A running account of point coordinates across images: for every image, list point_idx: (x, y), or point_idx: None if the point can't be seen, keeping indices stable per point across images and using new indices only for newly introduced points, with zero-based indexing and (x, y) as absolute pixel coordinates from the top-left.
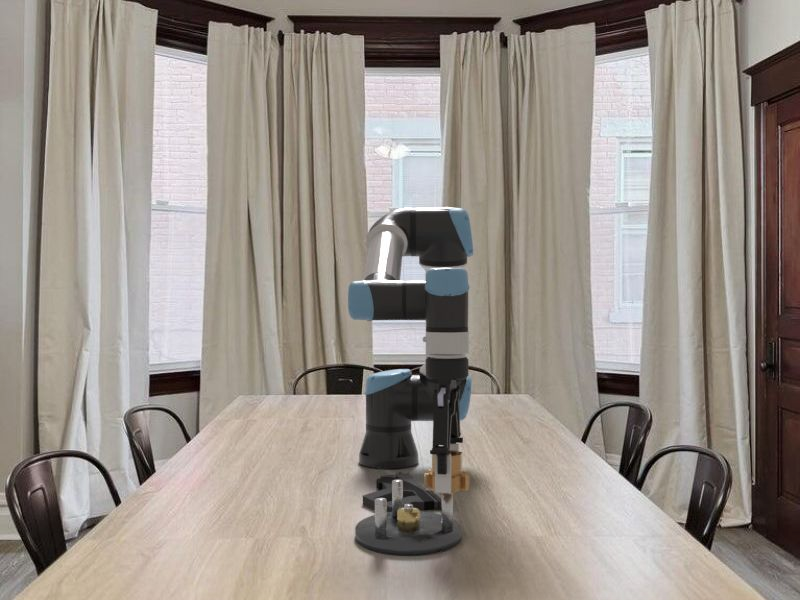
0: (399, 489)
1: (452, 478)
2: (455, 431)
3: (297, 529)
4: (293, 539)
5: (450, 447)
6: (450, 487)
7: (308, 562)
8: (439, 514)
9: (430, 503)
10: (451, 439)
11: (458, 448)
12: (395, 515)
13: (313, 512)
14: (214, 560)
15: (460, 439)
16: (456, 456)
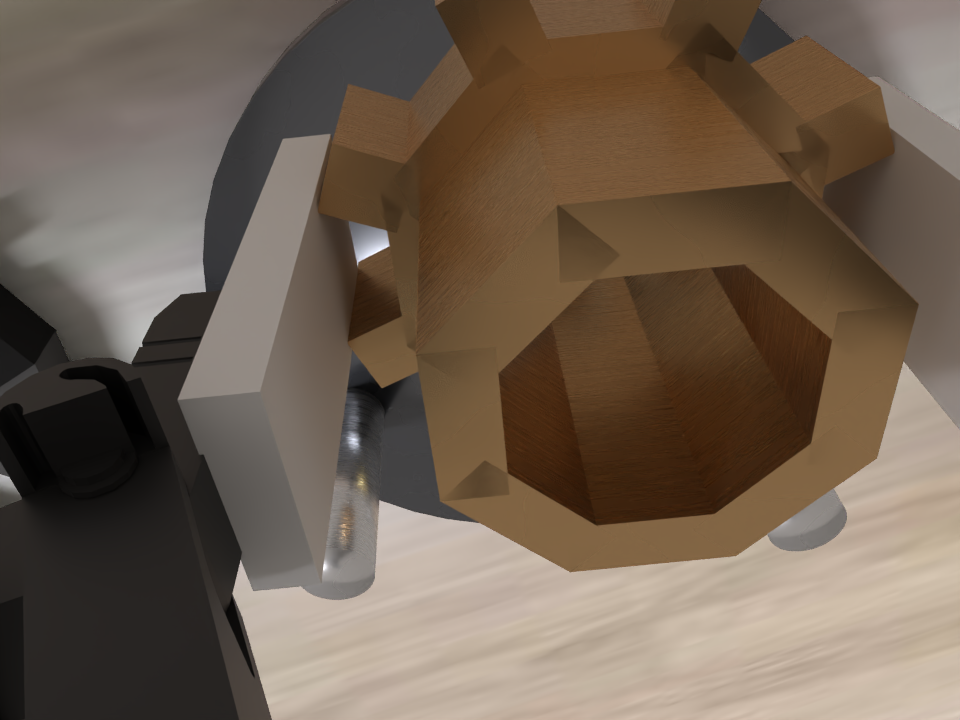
0: (364, 516)
1: (876, 124)
2: (224, 653)
3: (578, 660)
4: (689, 632)
5: (299, 461)
6: (909, 97)
7: (929, 512)
8: (212, 204)
9: (3, 325)
10: (209, 560)
11: (235, 347)
12: (384, 419)
13: (363, 691)
14: (911, 712)
15: (75, 438)
16: (835, 228)
